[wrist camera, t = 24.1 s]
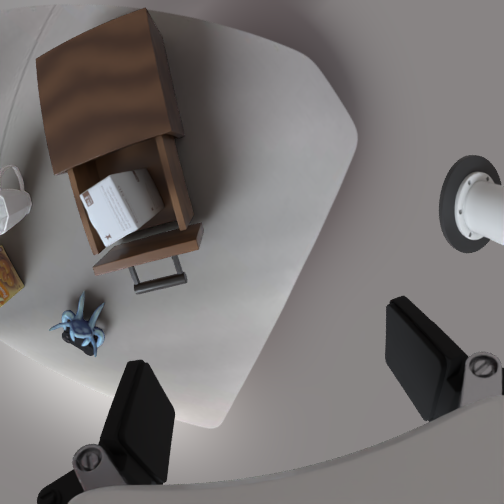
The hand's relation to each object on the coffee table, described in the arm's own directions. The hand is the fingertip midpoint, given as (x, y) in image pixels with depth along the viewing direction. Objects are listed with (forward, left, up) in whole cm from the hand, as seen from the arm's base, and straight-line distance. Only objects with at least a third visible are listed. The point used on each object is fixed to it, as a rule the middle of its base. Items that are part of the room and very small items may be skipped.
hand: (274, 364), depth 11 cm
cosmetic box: (+12, -5, -30) cm, 33 cm away
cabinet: (+12, -19, -32) cm, 39 cm away
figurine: (+30, +12, -32) cm, 46 cm away
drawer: (+12, -3, -31) cm, 34 cm away
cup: (+33, -12, -32) cm, 48 cm away
